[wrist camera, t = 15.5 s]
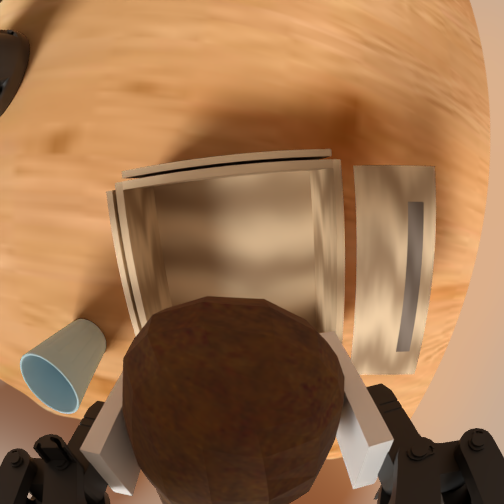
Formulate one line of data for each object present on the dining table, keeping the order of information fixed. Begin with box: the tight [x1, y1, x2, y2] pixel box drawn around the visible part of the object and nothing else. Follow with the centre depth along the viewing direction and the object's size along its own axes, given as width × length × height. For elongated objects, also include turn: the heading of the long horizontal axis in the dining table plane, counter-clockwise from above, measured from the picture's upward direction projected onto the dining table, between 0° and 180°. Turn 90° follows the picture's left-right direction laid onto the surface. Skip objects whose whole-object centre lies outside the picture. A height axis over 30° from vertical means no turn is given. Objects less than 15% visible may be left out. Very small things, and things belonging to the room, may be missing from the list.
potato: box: [122, 296, 345, 504], centre depth 9 cm, size 7×10×8 cm
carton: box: [106, 149, 345, 343], centre depth 24 cm, size 20×17×8 cm
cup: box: [20, 319, 106, 414], centre depth 25 cm, size 8×8×10 cm
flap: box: [351, 165, 436, 375], centre depth 19 cm, size 17×1×6 cm
